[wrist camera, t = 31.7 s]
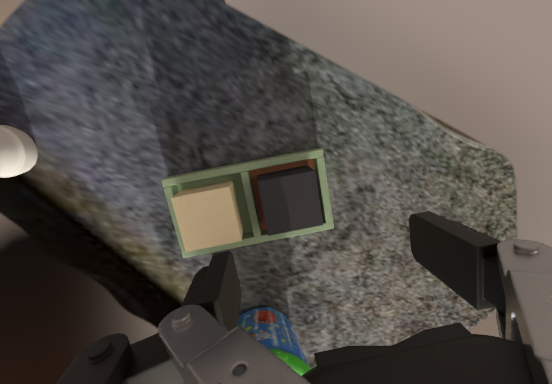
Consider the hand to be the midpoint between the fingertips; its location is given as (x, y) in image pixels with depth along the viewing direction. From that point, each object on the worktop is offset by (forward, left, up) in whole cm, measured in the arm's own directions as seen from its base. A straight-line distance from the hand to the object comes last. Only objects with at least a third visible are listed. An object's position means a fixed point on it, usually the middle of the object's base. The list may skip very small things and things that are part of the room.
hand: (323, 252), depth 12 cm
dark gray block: (+1, 0, -18) cm, 18 cm away
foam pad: (+1, -8, -18) cm, 20 cm away
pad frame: (+1, -4, -19) cm, 19 cm away
